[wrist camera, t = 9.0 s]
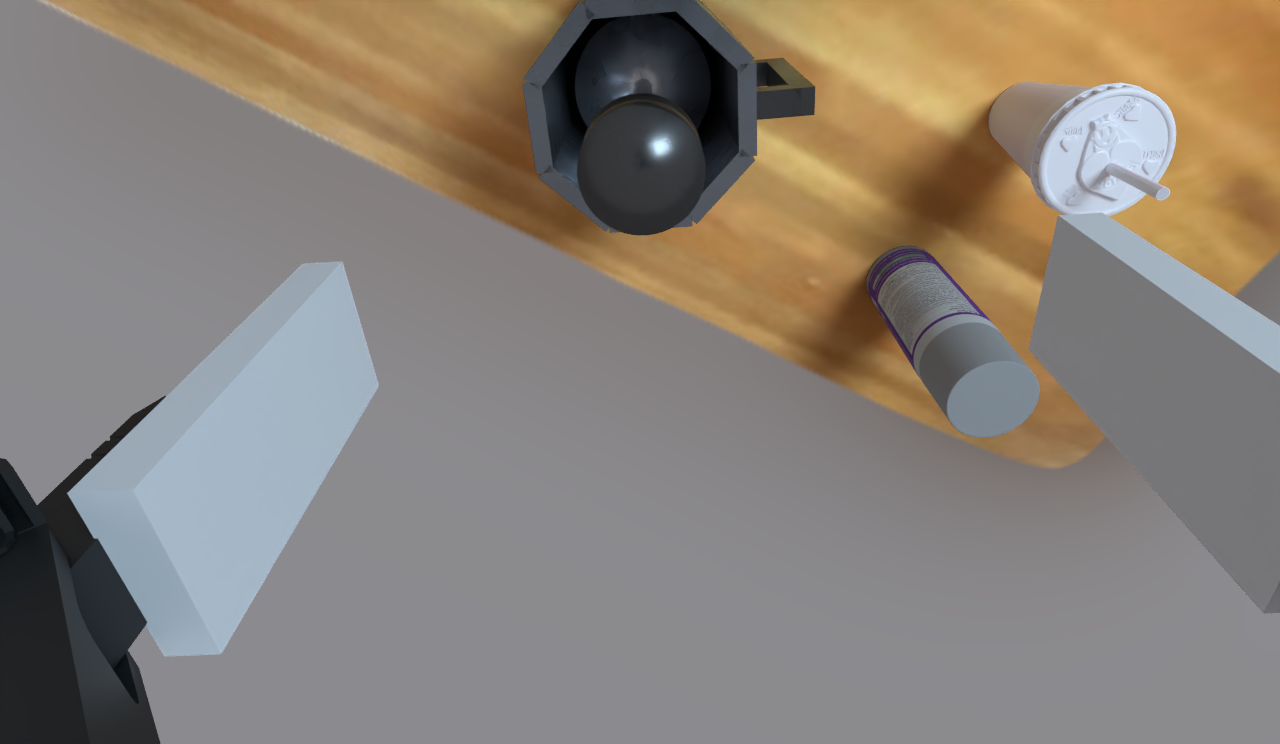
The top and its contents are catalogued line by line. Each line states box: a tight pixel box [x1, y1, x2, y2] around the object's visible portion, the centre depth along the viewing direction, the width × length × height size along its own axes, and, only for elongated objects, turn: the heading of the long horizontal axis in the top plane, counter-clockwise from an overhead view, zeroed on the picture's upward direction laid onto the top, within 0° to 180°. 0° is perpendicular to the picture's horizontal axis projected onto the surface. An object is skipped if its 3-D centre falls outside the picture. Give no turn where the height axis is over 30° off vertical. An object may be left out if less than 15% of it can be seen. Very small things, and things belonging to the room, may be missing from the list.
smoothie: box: [988, 82, 1176, 216], centre depth 38 cm, size 6×6×14 cm
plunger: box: [575, 13, 711, 235], centre depth 33 cm, size 7×7×17 cm
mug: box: [523, 0, 815, 233], centre depth 38 cm, size 10×13×12 cm
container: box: [867, 246, 1040, 438], centre depth 43 cm, size 5×5×15 cm
